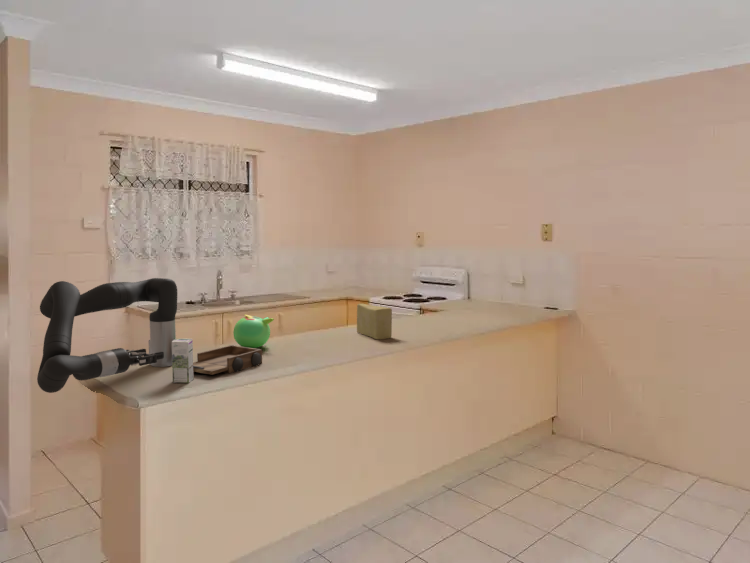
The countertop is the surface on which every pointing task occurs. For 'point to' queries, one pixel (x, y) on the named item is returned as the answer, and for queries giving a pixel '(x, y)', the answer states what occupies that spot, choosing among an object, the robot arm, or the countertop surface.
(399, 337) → the countertop surface
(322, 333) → the countertop surface
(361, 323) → the olive rectangular block
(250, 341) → the green ball creature
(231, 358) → the cart
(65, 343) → the robot arm
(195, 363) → the tailgate
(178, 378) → the syrup box
